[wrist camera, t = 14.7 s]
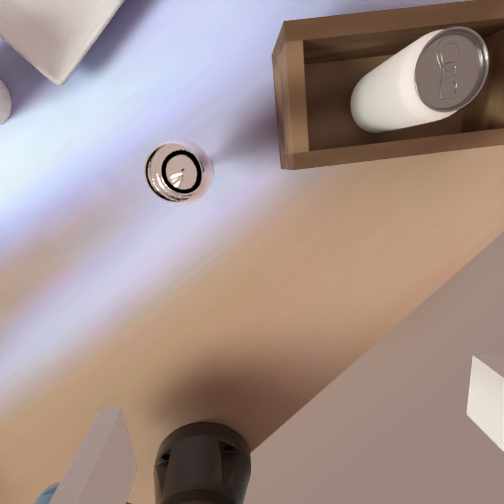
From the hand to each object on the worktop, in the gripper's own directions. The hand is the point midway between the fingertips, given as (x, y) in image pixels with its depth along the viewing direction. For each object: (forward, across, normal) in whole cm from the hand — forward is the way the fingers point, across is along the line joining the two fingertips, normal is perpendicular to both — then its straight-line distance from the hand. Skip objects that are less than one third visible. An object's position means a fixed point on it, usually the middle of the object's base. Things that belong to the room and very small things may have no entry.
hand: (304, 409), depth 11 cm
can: (+26, -16, -15) cm, 34 cm away
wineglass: (+28, +6, -10) cm, 30 cm away
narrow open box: (+27, -16, -15) cm, 35 cm away
